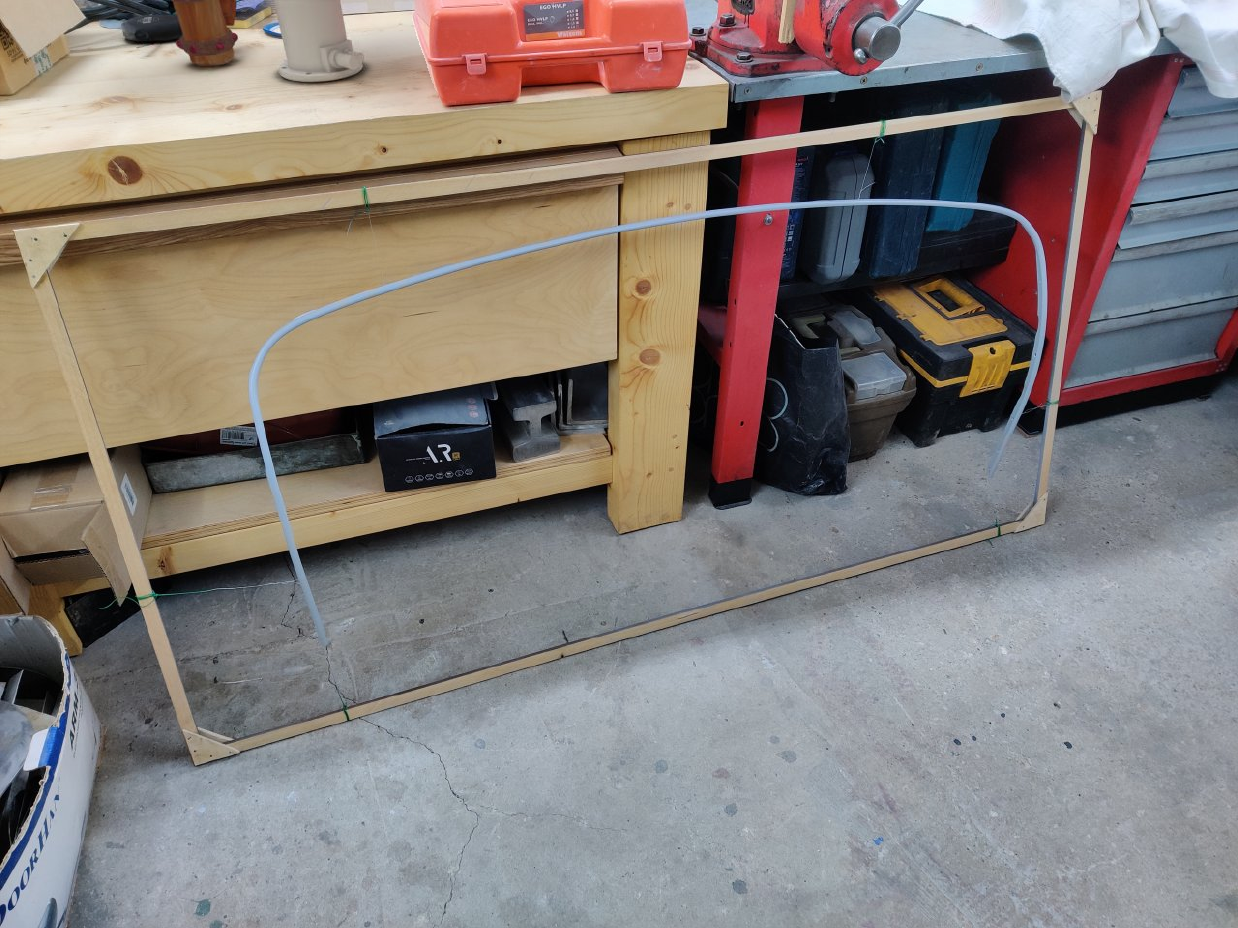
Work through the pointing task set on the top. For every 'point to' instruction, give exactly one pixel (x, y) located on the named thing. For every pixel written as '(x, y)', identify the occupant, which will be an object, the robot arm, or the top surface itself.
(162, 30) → the electronic device
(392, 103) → the top surface
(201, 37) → the mug
